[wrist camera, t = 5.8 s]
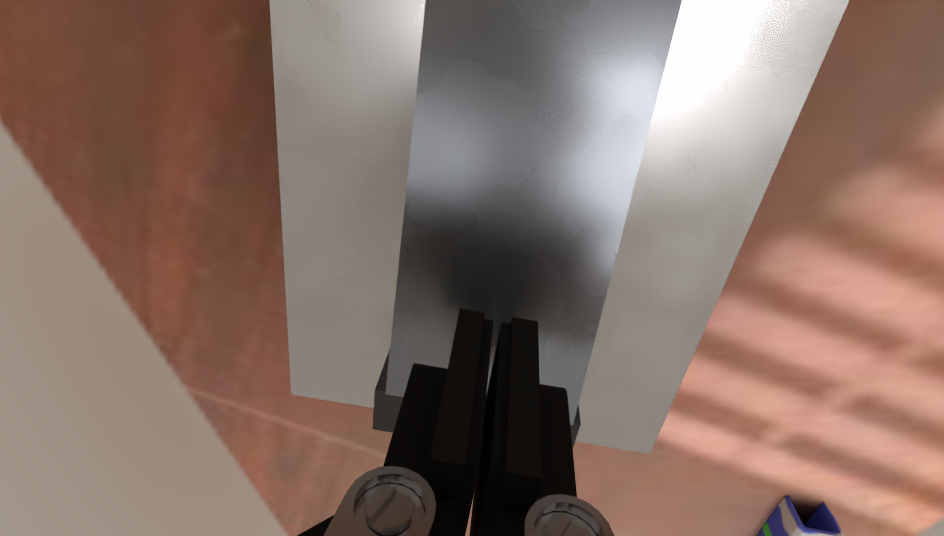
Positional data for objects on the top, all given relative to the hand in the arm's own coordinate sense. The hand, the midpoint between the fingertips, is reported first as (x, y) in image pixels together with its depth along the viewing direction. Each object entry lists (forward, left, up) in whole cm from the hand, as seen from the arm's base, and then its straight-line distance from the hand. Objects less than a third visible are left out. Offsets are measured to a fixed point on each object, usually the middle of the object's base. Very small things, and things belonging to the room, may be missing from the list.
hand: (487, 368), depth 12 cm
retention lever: (-5, 0, -4) cm, 6 cm away
